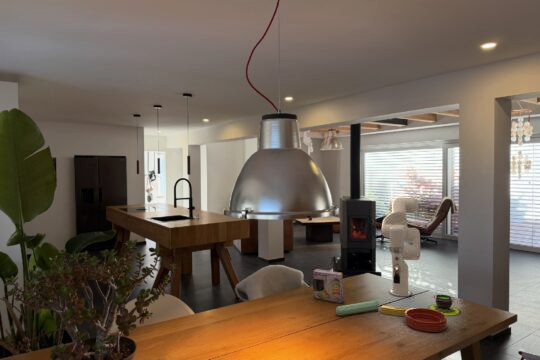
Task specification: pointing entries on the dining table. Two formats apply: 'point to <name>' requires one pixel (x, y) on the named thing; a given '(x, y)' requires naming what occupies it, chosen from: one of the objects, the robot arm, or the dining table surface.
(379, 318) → the dining table surface
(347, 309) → the pale green faceted rod
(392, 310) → the banana
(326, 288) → the cake pan box
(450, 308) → the toy cauldron
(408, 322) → the bowl
